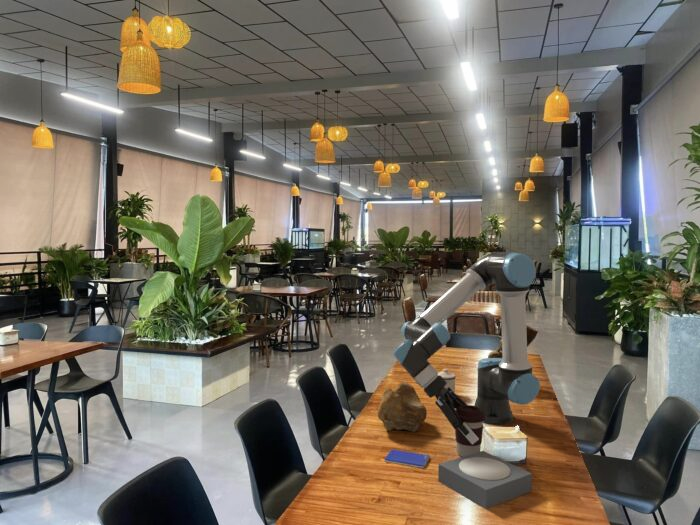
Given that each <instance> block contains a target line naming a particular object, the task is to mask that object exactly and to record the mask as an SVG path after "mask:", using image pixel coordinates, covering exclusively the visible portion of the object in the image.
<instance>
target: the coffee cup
mask: <svg viewBox="0 0 700 525" xmlns="http://www.w3.org/2000/svg"><path fill="white" fill-rule="evenodd" d="M455 410H456V409H455ZM456 412H457V413H458V415H459V417H460V418H461V420H462V422H463V423H464V422H465V423H466V424H467V426H468V427H469V428H470V429H471V430H472V431H473V432H474V434H475V435H476V436H477V437H478V438H479V440H478V441H476V442H475V443H474V444H473V445H472V444H471V443H470V441H469V440H468V439H467V438H466V437H465V436H464V435H463V433H462V432H461V431H460V430H459V429H458V428H457V429H456V430H455V429H454V430H455V431H454V432H455V433H454V434H455V436H454V437H455V443H456V453H457V454H458V455H459V456H460V457H464V456H467V455H470V454H474V453H477V452H480V451H481V446H482V442H483V441H482V440H483V433H484V432H483V431H484V428H483V427H484V424H483V423H484V422H483V421H484V420H485V414H484V413H483V412H482V411H480V408H478V407H476V406H474V405H470V404H469V405H468V404H467V405H463V406H460V407H459V408H458V409H457V410H456Z"/></svg>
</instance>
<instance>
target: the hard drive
mask: <svg viewBox="0 0 700 525" xmlns="http://www.w3.org/2000/svg"><path fill="white" fill-rule="evenodd" d="M430 457H431V456H430V455H429V454H423V453H417V452H412V451H411V452H410V451H404V450H398V449H393V448H392V449H391V450H390V451H389V452H388V453H387V455H386V456H385V457H384V462H386V463H390V462H392V463H391V464H396V463H398V464H397V465H401V464H404V465H403V466H407V465H410V466H409V467H413V466H414V467H413V468H418V467H420V468H419V469H425V467H426V465H427V463H428V462H429V459H430ZM424 466H425V467H424Z"/></svg>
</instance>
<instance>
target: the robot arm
mask: <svg viewBox="0 0 700 525" xmlns="http://www.w3.org/2000/svg"><path fill="white" fill-rule="evenodd" d="M536 275H537V268H536V265H535V263H534V261H533V260H532V259H531V258H530V257H529V256H528V255H526V254H524V253H519V252H507V251H505V252H503V251H494V252H490V253H488V254H486V255H483V257H481V258H480V259H478V260H477V261H476V262H474V264H472V265H471V266H470V267H469V268H467V269H466V270H465V275H464V276H463V277H462V278H460V279H459V280H458V281H457V282H456V283H455V284H454V285H452V286H451V288H449V289H448V290H447V291H446V292H445V293H444V294H442V296H440V297H439V298H438V299H437V300H435V301H434V302H433V303H432V304H431V305H430V306H429V307H428V308H427V309H426V310H424V312H422V313H421V314H420V315H419V316H418V317H416V319H414V320H411V321H406V322H404V323H403V324H402V326H401V328H400V334H401V337H402V338H403V339H404V342H402V343H401V344H400V345H398V347H397V348H395V350H394V351H393V357H394V358H395V359H396V360H397V361H398V363H399V364H400V365H401V367H403V369H404V370H405V371H406V372H407V373H408V374H409V375H410V376H411V378H412V379H413V380H414V381H415V384H416V385H419V387H420V388H422V389H423V392H424V393H425V394H426V395H427V396H428V397H429V398H430V399H431V398H433V397H435V398H436V400H435V402H434V404H435V405H436V406H437V407H438V408H439V410H441V412H442V414H443V416H445V418H446V420H447V421H448V422H449V423H450V425H451V426H452V427H453V429H454V430H456V429H457V428H458V429H459V430H460V431H461V432H462V433H463V435H464V436H465V437H466V438H467V439H468V440H469V441H470V443H471V444H472V445H473V444H474V443H475V442H476V441H478V440H479V438H478V437H477V436H476V435H475V434H474V432H473V431H472V430H471V429H470V428H469V427H468V426H467V424H466V423H465V422H464V423H463V422H462V420H461V418H460V417H459V415H458V413H457V412H456V410H457V409H458V408H459V407H460V406H463V405H468V404H467V403H466V402H465V401H464V400H463V399H461V398H460V396H459V395H457V394H456V392H455V393H454V392H453V391H452V390H451V388H450V387H448V388H447V389H446V388H445V387H444V386H445V385H446V384H447V382H446V381H445V380H444V379H443V378H442V377H441V375H439V376H438V373H439V371H437V369H435V367H434V366H433V365H432V364H431V363H430V362H429V361H428V360H429V359H430V358H431V357H432V356H433V355H434V354H436V353H437V352H438V351H439V350H440V349H442V348H443V347H444V346H446V344H447V343H448V342H449V341H450V340H451V334H450V332H449V330H448V329H447V327H446V326H445V325H443V324H444V323H445V321H446V320H448V318H450V317H451V316H452V315H453V314H454V313H455V312H457V310H458V309H459V310H460V308H461V307H462V306H463V305H464V304H466V302H468V300H470V299H471V298H472V297H474V296H475V294H476V293H478V292H479V291H480V290H483V291H484V290H485V289H486V288H488V287H489V286H490V285H493V284H495V286H494V287H495V292H497V294H498V295H499V297H500V319H501V320H500V324H501V327H500V328H501V339H502V350H501V352H502V354H503V358H488V357H485V358H481V359H479V361H478V363H477V368H476V369H477V387H476V388H477V394H476V395H477V396H476V400H475V402H474V405H473V406H476V407H478V408H480V411H482V412H483V413H484V414H485V420H484V421H483V423H486V424H491V425H492V424H493V425H494V424H495V425H501V424H509V423H511V422H512V421H513V411H512V409H511V405H510V402H511V403H513V404H518V405H521V406H523V405H528V404H530V403H531V402H533V401H534V400H535V398H537V396H538V394H539V391H540V381H539V378H538V377H537V376H536V375H535V374H534V373H533V364H532V363H531V362H529V360H528V346H527V332H526V326H527V312H526V307H527V306H526V304H527V303H526V295H527V293H528V292H530V286H531V285H532V284H533V282H534V280H535V279H536ZM484 428H485V426H483V429H484Z"/></svg>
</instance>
